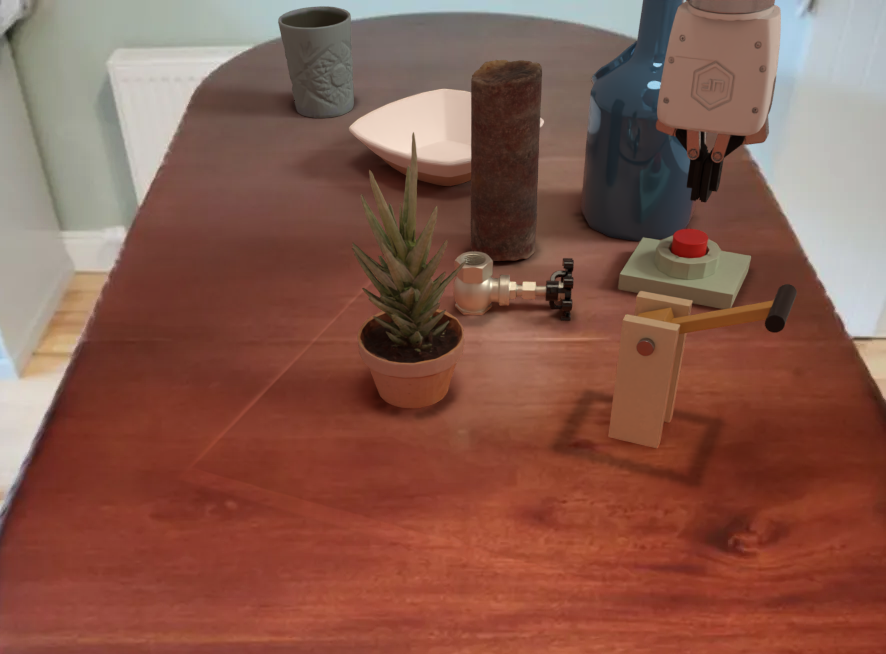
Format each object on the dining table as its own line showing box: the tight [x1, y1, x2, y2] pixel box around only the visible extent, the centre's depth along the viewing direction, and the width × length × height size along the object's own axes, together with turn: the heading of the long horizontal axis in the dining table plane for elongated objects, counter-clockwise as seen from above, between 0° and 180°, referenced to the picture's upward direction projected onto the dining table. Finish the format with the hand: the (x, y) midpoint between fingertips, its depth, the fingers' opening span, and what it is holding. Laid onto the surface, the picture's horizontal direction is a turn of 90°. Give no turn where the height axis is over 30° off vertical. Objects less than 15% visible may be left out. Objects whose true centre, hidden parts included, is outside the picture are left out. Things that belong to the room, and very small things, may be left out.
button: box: [671, 228, 709, 258], centre depth 105 cm, size 4×4×2 cm
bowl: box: [348, 88, 545, 187], centre depth 130 cm, size 22×22×5 cm
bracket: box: [608, 291, 693, 449], centre depth 84 cm, size 12×9×13 cm
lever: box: [638, 283, 798, 334], centre depth 78 cm, size 12×5×2 cm, turn 66°
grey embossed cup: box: [277, 5, 355, 119], centre depth 143 cm, size 10×10×12 cm
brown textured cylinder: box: [470, 59, 543, 262], centre depth 106 cm, size 8×7×20 cm
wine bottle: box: [580, 0, 709, 242], centre depth 108 cm, size 14×13×30 cm
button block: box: [617, 235, 752, 310], centre depth 107 cm, size 12×9×4 cm
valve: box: [452, 251, 575, 322], centre depth 101 cm, size 7×7×12 cm
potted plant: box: [351, 132, 466, 409], centre depth 85 cm, size 10×10×25 cm
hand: (701, 195), depth 101 cm, fingers closed
